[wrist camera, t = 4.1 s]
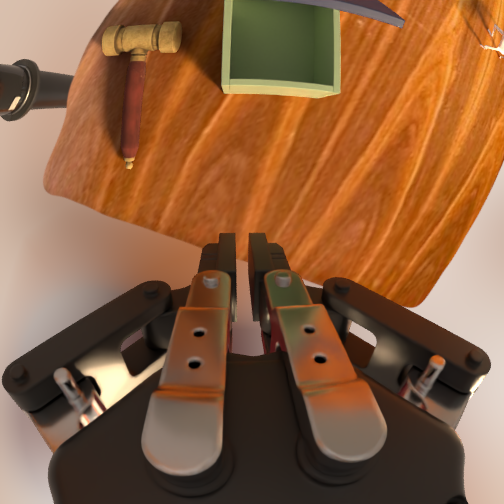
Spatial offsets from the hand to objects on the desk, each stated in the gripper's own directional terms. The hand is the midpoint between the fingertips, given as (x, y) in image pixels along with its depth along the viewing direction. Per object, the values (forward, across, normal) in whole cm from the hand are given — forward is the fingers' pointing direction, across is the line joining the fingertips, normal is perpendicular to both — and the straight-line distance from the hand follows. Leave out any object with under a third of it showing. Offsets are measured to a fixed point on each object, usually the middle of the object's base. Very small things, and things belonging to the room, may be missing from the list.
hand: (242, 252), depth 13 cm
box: (+27, +5, +18) cm, 33 cm away
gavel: (+27, -14, +11) cm, 32 cm away
